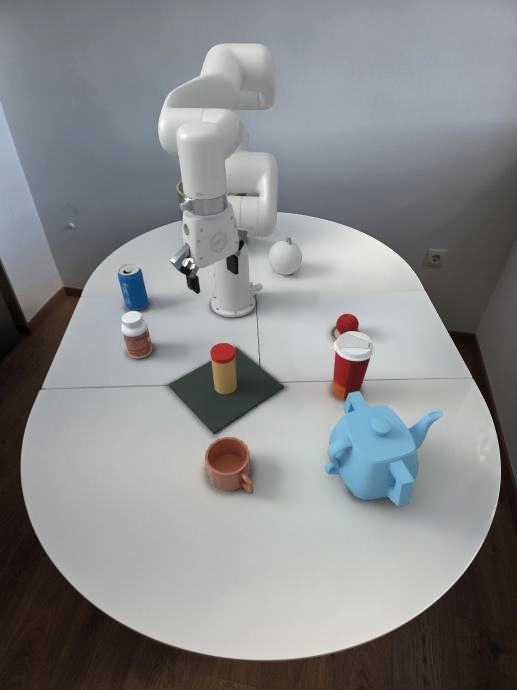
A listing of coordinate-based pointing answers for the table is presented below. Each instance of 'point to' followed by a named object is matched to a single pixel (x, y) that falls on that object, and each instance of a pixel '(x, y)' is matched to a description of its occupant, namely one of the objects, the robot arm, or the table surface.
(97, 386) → the table surface
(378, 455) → the teapot
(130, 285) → the beverage can
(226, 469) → the terracotta mug
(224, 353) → the jar
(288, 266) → the ornament
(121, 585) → the table surface
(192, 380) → the mat
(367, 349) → the coffee cup
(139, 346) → the pill bottle
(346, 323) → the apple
